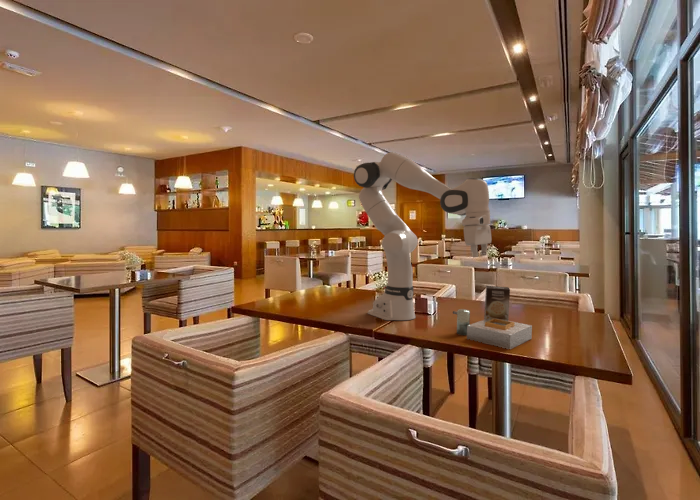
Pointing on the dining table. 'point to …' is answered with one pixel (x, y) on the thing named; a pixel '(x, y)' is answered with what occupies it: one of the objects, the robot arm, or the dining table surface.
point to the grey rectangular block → (499, 332)
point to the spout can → (462, 321)
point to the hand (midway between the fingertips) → (479, 256)
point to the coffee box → (497, 302)
